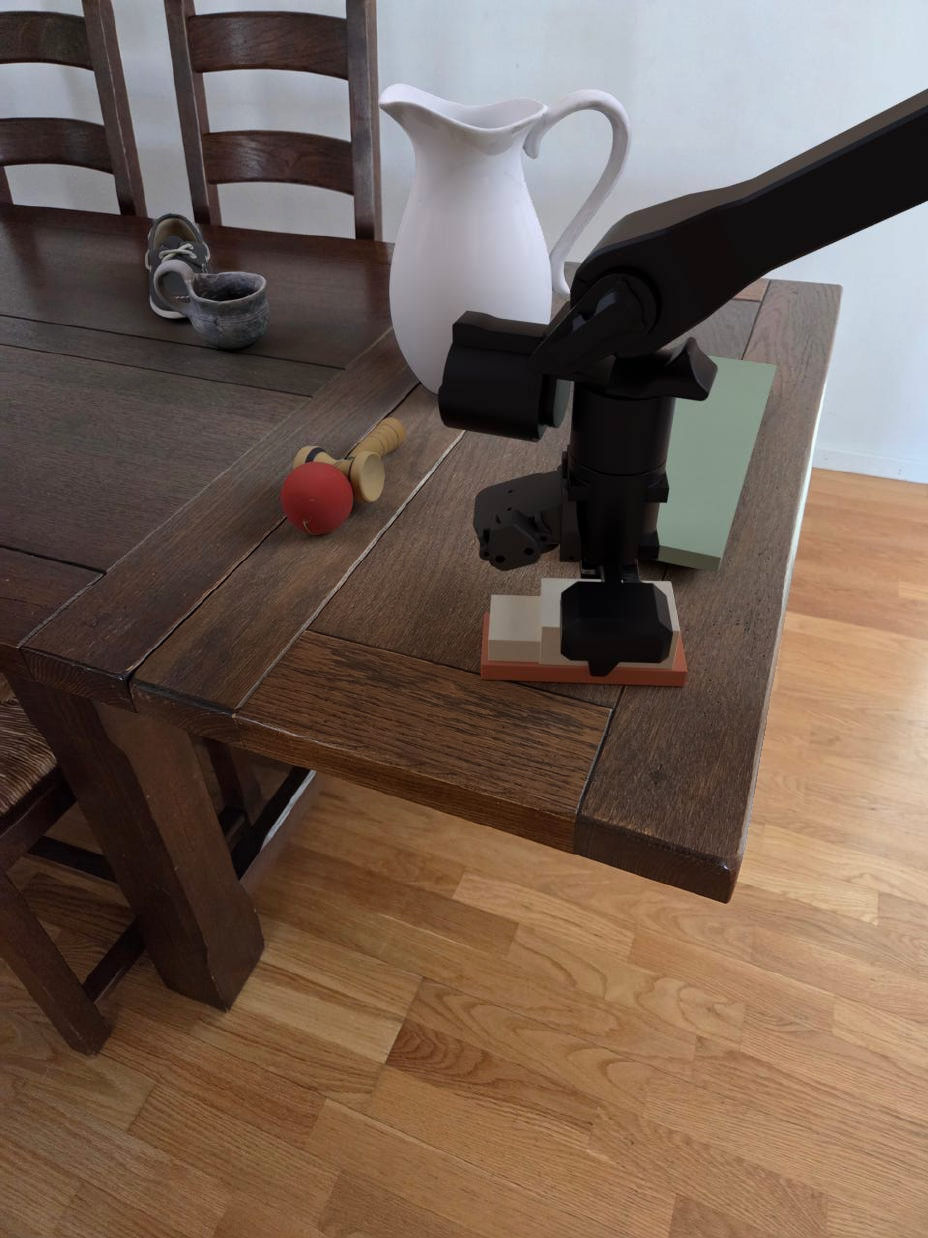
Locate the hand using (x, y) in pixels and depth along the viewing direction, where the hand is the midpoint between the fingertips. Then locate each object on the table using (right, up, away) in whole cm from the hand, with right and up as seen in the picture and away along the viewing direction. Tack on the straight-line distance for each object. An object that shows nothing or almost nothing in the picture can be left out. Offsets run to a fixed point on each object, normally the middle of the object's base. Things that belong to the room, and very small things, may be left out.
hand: (595, 645), depth 61 cm
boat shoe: (-47, +46, +57) cm, 87 cm away
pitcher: (-5, +29, +35) cm, 46 cm away
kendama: (-20, +13, +18) cm, 30 cm away
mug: (-38, +35, +43) cm, 68 cm away
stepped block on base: (-1, -1, +1) cm, 1 cm away
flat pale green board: (+12, +17, +20) cm, 29 cm away
